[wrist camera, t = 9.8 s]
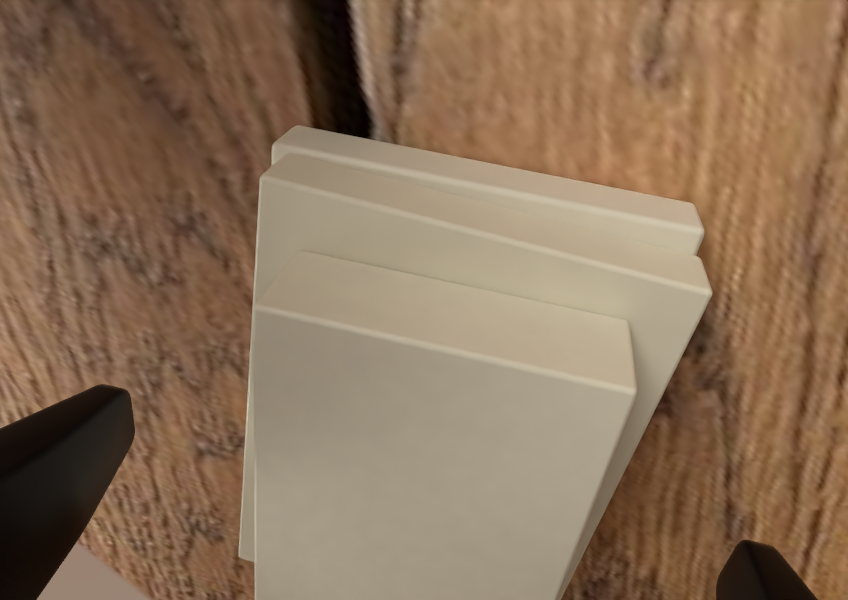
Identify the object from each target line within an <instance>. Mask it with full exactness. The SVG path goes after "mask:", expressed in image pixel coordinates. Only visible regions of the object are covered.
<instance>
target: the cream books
mask: <svg viewBox="0 0 848 600" xmlns="http://www.w3.org/2000/svg"><path fill="white" fill-rule="evenodd" d="M704 235H705V231H704V227H703V224H702V222H701V219H700V217H699V214H698V211H697V209H696V206H695V205H694V204H692V203H689V202H684V201H679V200H674V199H669V198H664V197H659V196H654V195H649V194H644V193H639V192H634V191H629V190H623V189H618V188H613V187H608V186H603V185H598V184H593V183H588V182H583V181H578V180H573V179H568V178H563V177H558V176H553V175H548V174H542V173H537V172H532V171H527V170H522V169H517V168H512V167H507V166H502V165H497V164H492V163H487V162H482V161H477V160H472V159H467V158H462V157H456V156H451V155H446V154H441V153H436V152H431V151H426V150H421V149H416V148H411V147H406V146H401V145H396V144H391V143H386V142H381V141H376V140H370V139H365V138H360V137H355V136H350V135H345V134H340V133H335V132H330V131H325V130H320V129H315V128H310V127H305V126H300V125H298V126H294V127H293V128H291V129H290V130H289V131H288V132H286V133H285V134H284V135H283V136H281V137H280V138H279V139H278V140H276V141H275V142H274V143H273V145H272V163H271V167H270V168H269V169H268V170H267V171H265V172H264V173H263V174H262V175H261V177H260V184H259V202H258V219H257V237H256V255H255V272H254V290H253V307H254V305H255V303H256V302H257V301H258V300H259V298H260V297H261V296H262V294H263V293H264V292H265V291H266V289H267V288H268V287H269V286H270V284H271V283H272V282H273V281H274V279H275V278H276V277H277V276H278V274H279V273H280V272H281V271H282V269H283V268H284V267H285V266H286V264H287V263H288V262H289V261H290V259H291V258H292V257H293V256H294V254H295V253H296V252H297V251H307V252H311V253H316V254H321V255H325V256H330V257H335V258H339V259H344V260H349V261H353V262H358V263H363V264H367V265H372V266H377V267H381V268H386V269H391V270H395V271H400V272H405V273H409V274H414V275H419V276H423V277H428V278H433V279H437V280H442V281H447V282H451V283H456V284H461V285H465V286H470V287H475V288H479V289H484V290H489V291H493V292H498V293H503V294H507V295H512V296H517V297H521V298H526V299H531V300H535V301H540V302H545V303H549V304H554V305H559V306H563V307H568V308H573V309H577V310H582V311H587V312H591V313H596V314H601V315H605V316H610V317H615V318H619V319H624V320H626V321H628V322H629V325H630V333H631V341H632V349H633V358H634V366H635V374H636V382H637V391H638V394H637V397H636V399H635V402H634V405H633V407H632V410H631V412H630V415H629V417H628V420H627V422H626V425H625V428H624V430H623V433H622V435H621V438H620V440H619V443H618V445H617V448H616V451H615V453H614V456H613V458H612V461H611V463H610V466H609V468H608V471H607V474H606V476H605V479H604V481H603V484H602V486H601V489H600V491H599V494H598V497H597V499H596V502H595V504H594V507H593V509H592V512H591V514H590V517H589V520H588V522H587V525H586V527H585V530H584V532H583V535H582V537H581V540H580V543H579V545H578V548H577V550H576V553H575V555H574V558H573V560H572V563H571V566H570V568H569V571H568V573H567V576H566V578H565V581H564V584H563V586H562V589H561V591H560V594H559V596H558V599H557V600H561V599H562V596H563V594H564V592H565V590H566V588H567V586H568V584H569V582H570V580H571V578H572V576H573V574H574V572H575V570H576V568H577V566H578V564H579V562H580V560H581V558H582V556H583V554H584V552H585V550H586V548H587V546H588V544H589V542H590V540H591V538H592V536H593V534H594V532H595V530H596V528H597V526H598V524H599V522H600V520H601V518H602V516H603V514H604V512H605V510H606V508H607V506H608V504H609V502H610V500H611V498H612V496H613V494H614V492H615V490H616V488H617V486H618V484H619V482H620V480H621V478H622V476H623V474H624V472H625V470H626V468H627V466H628V464H629V462H630V460H631V458H632V456H633V454H634V452H635V450H636V448H637V446H638V444H639V442H640V440H641V438H642V435H643V433H644V431H645V429H646V427H647V425H648V423H649V421H650V419H651V417H652V415H653V413H654V411H655V409H656V407H657V405H658V403H659V401H660V399H661V397H662V395H663V393H664V391H665V389H666V387H667V385H668V383H669V381H670V379H671V377H672V375H673V373H674V371H675V369H676V367H677V365H678V363H679V361H680V359H681V357H682V355H683V353H684V351H685V349H686V347H687V345H688V343H689V341H690V339H691V337H692V335H693V333H694V331H695V329H696V327H697V325H698V323H699V321H700V319H701V317H702V315H703V313H704V311H705V309H706V307H707V305H708V303H709V301H710V299H711V297H712V289H711V286H710V283H709V280H708V277H707V274H706V271H705V268H704V265H703V262H702V260H701V259H700V258H699V257H697V256H696V255H697V253H698V250H699V248H700V245H701V243H702V240H703V238H704ZM239 557H240V558H242V559H245V560H248V561H252V562H255V533H254V348H253V308H252V326H251V343H250V361H249V379H248V396H247V414H246V432H245V449H244V467H243V485H242V503H241V520H240V538H239Z"/></svg>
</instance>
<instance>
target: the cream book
mask: <svg viewBox="0 0 848 600" xmlns="http://www.w3.org/2000/svg"><path fill="white" fill-rule="evenodd" d="M253 348H254V533H255V600H557V599H558V596H559V594H560V591H561V589H562V586H563V584H564V581H565V578H566V576H567V573H568V571H569V568H570V566H571V563H572V560H573V558H574V555H575V553H576V550H577V548H578V545H579V543H580V540H581V537H582V535H583V532H584V530H585V527H586V525H587V522H588V520H589V517H590V514H591V512H592V509H593V507H594V504H595V502H596V499H597V497H598V494H599V491H600V489H601V486H602V484H603V481H604V479H605V476H606V474H607V471H608V468H609V466H610V463H611V461H612V458H613V456H614V453H615V451H616V448H617V445H618V443H619V440H620V438H621V435H622V433H623V430H624V428H625V425H626V422H627V420H628V417H629V415H630V412H631V410H632V407H633V405H634V402H635V399H636V397H637V394H638V391H637V382H636V374H635V366H634V358H633V349H632V341H631V333H630V325H629V322H628V321H626V320H624V319H619V318H615V317H610V316H605V315H601V314H596V313H591V312H587V311H582V310H577V309H573V308H568V307H563V306H559V305H554V304H549V303H545V302H540V301H535V300H531V299H526V298H521V297H517V296H512V295H507V294H503V293H498V292H493V291H489V290H484V289H479V288H475V287H470V286H465V285H461V284H456V283H451V282H447V281H442V280H437V279H433V278H428V277H423V276H419V275H414V274H409V273H405V272H400V271H395V270H391V269H386V268H381V267H377V266H372V265H367V264H363V263H358V262H353V261H349V260H344V259H339V258H335V257H330V256H325V255H321V254H316V253H311V252H307V251H297V252H296V253H295V254H294V256H293V257H292V258H291V259H290V261H289V262H288V263H287V264H286V266H285V267H284V268H283V269H282V271H281V272H280V273H279V274H278V276H277V277H276V278H275V279H274V281H273V282H272V283H271V284H270V286H269V287H268V288H267V289H266V291H265V292H264V293H263V294H262V296H261V297H260V298H259V300H258V301H257V302H256V303H255V305H254V307H253Z"/></svg>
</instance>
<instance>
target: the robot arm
mask: <svg viewBox="0 0 848 600" xmlns="http://www.w3.org/2000/svg"><path fill="white" fill-rule="evenodd" d="M134 435H135V426H134V418H133V410H132V403H131V397H130V394H129V392H128V391H127V390H125V389H122V388H118V387H114V386H110V385H105V384H101V385H97V386H95V387H92V388H90V389H88V390H86V391H83V392H81V393H79V394H77V395H74V396H72V397H70V398H68V399H65V400H63V401H61V402H59V403H56V404H54V405H52V406H50V407H47V408H45V409H43V410H41V411H38V412H36V413H34V414H32V415H29V416H27V417H25V418H23V419H21V420H18V421H16V422H14V423H12V424H9V425H7V426H5V427H3V428H0V600H37V598H38V597H39V595H40V594H41V592H42V591H43V589H44V588H45V587H46V585H47V584H48V582H49V581H50V579H51V578H52V577H53V575H54V574H55V572H56V571H57V569H58V568H59V566H60V565H61V564H62V562H63V561H64V559H65V558H66V556H67V555H68V554H69V552H70V551H71V549H72V548H73V546H74V545H75V543H76V542H77V540H78V539H79V537H80V536H81V534H82V533H83V531H84V529H85V528H86V526H87V524H88V523H89V521H90V519H91V517H92V516H93V514H94V512H95V510H96V508H97V506H98V505H99V503H100V501H101V499H102V497H103V496H104V494H105V492H106V490H107V488H108V487H109V485H110V483H111V481H112V479H113V477H114V476H115V474H116V472H117V470H118V468H119V467H120V465H121V463H122V461H123V459H124V458H125V456H126V454H127V452H128V450H129V448H130V447H131V445H132V442H133V439H134ZM716 600H818V599H817V598H816V597H815V596H814V594H813V593H812V592H811V591H810V590H809V588H808V587H807V586H806V585H805V583H804V582H803V581H802V580H801V579H800V577H799V576H798V575H797V574H796V572H795V571H794V570H793V569H792V568H791V566H790V565H789V564H788V563H787V561H786V560H785V559H784V558H783V556H782V555H781V554H780V553H779V552H778V551H777V550H776V549H775V548H774V547H772V546H770V545H767V544H763V543H758V542H754V541H750V540H742V541H740V542H739V543H738V544H737V546H736V547H735V549H734V551H733V552H732V554H731V556H730V557H729V559H728V561H727V562H726V564H725V566H724V568H723V569H722V571H721V573H720V575H719V577H718V580H717V586H716Z"/></svg>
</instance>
